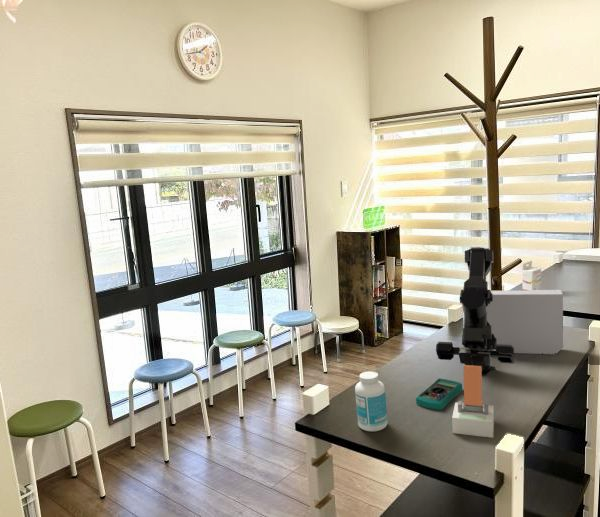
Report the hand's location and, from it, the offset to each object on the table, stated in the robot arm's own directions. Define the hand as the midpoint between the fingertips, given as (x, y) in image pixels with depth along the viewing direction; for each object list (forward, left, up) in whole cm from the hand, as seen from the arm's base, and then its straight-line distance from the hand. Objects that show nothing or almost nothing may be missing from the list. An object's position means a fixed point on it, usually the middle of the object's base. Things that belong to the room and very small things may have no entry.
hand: (473, 384), depth 125 cm
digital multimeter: (-4, -13, -9) cm, 16 cm away
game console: (-48, -12, -9) cm, 50 cm away
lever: (+5, +2, -4) cm, 6 cm away
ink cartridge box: (-117, -37, -9) cm, 123 cm away
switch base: (+5, +2, -9) cm, 10 cm away
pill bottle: (+19, -17, -9) cm, 27 cm away
